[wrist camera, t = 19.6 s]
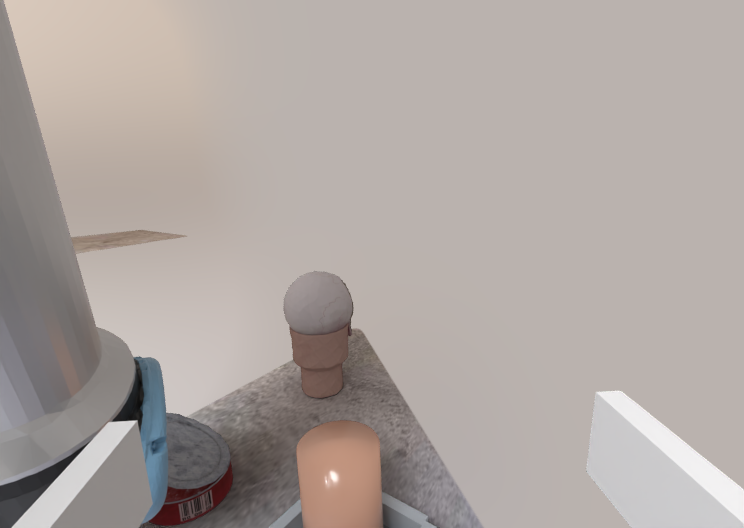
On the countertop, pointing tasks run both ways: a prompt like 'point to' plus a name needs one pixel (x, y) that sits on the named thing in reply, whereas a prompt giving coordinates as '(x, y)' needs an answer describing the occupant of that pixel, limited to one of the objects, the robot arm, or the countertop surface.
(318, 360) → the ice cream cone
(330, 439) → the peach round cylinder
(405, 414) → the countertop surface
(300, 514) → the grey rectangular tray
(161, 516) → the canned food
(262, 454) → the countertop surface
